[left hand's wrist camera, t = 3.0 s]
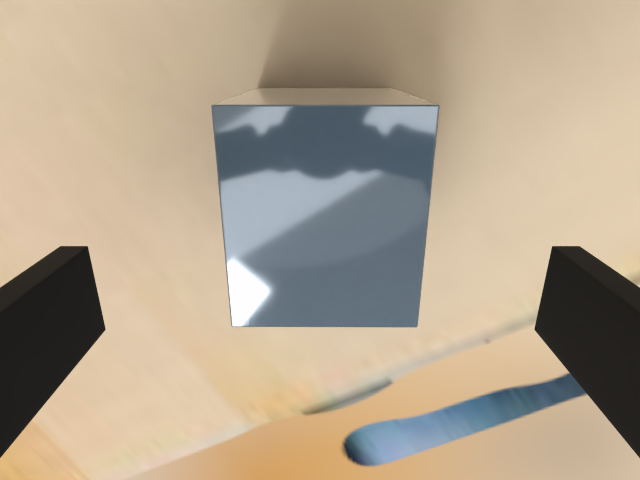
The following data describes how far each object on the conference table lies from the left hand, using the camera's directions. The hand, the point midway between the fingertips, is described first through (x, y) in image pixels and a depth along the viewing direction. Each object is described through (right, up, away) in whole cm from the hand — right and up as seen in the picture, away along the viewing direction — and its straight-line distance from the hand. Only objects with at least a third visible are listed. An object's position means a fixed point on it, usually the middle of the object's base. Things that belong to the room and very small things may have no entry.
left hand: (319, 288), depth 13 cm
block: (0, +6, +15) cm, 16 cm away
